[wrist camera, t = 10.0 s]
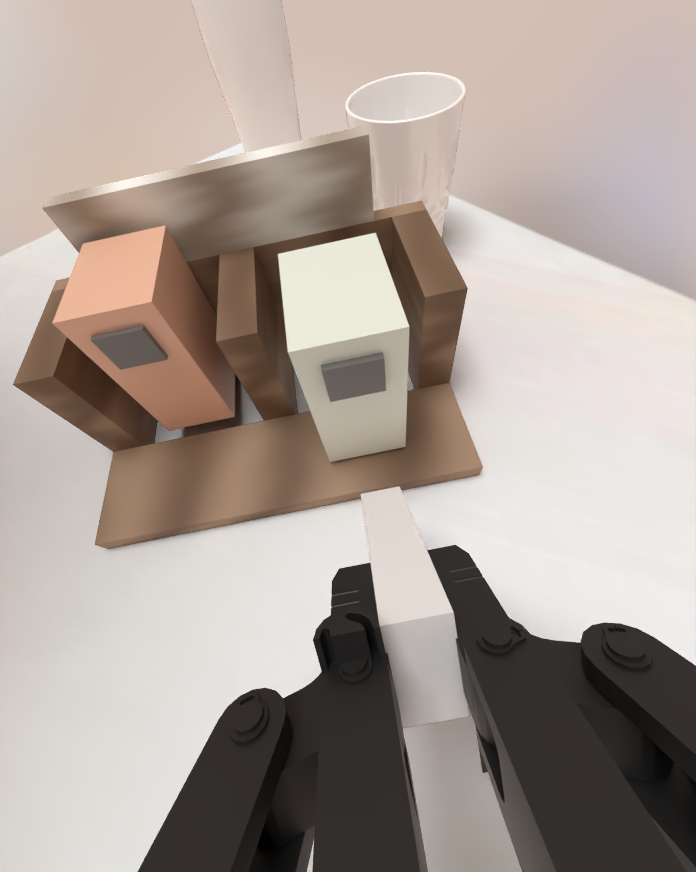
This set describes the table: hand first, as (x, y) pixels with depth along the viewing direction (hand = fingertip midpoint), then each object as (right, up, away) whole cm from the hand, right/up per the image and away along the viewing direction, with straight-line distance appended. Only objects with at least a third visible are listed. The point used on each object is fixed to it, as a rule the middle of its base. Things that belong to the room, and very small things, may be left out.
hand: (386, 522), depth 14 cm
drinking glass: (-8, +30, +26) cm, 40 cm away
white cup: (+4, +21, +19) cm, 28 cm away
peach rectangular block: (-11, +7, +11) cm, 17 cm away
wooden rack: (-6, +4, +10) cm, 12 cm away
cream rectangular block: (-1, +5, +8) cm, 9 cm away
